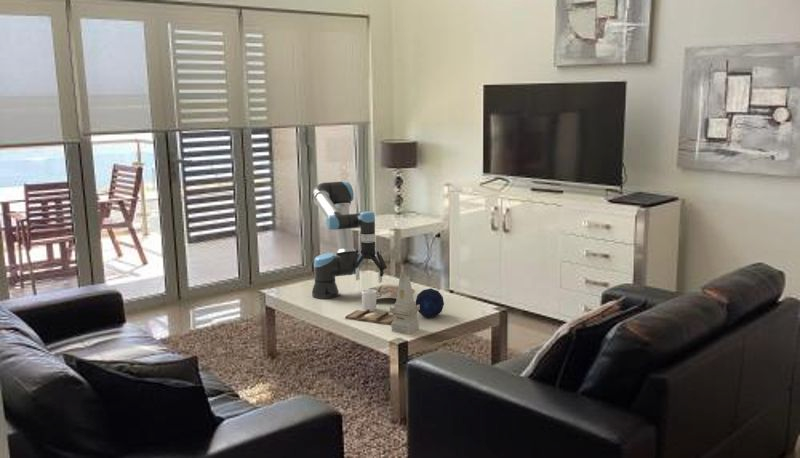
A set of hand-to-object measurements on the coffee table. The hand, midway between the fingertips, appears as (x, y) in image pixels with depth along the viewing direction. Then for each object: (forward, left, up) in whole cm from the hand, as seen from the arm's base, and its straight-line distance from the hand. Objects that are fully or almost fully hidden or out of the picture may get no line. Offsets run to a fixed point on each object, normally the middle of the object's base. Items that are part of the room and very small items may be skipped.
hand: (369, 281), depth 366 cm
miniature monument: (+32, -23, -16) cm, 42 cm away
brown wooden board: (+9, -13, -16) cm, 22 cm away
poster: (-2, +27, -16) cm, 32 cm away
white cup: (0, 0, -16) cm, 16 cm away
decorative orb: (+34, +2, -16) cm, 37 cm away
